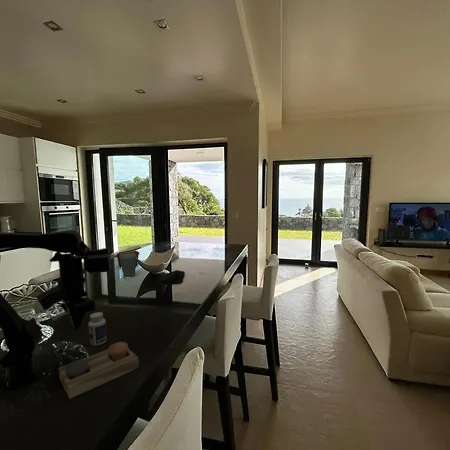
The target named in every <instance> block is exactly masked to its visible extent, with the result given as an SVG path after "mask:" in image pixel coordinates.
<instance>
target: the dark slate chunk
mask: <svg viewBox="0 0 450 450" xmlns="http://www.w3.org/2000/svg"><path fill="white" fill-rule="evenodd" d="M184 279H185V271H184V270H179V269H176V270H173V271H170V272H167V273H166V274H165V275H163V276H162V277H161V278H159V279H158V280H157V281H155V285H158V284H165V285H164V286H173V285H174V284H175V285H182V283H183V281H184Z"/></svg>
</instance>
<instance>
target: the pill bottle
mask: <svg viewBox="0 0 450 450" xmlns="http://www.w3.org/2000/svg"><path fill="white" fill-rule="evenodd" d="M103 314H104V313H103V312H102V311H101V312H98V311H97V312H93V313H91V314H90V315H89V322H88V334H89V335H88V336H89V343H90V346H100V345H103V344H105V343H106V342H107V340H108V336H107V334H108V333H107V323H106V319H105V318H104V315H103Z"/></svg>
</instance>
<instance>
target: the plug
mask: <svg viewBox="0 0 450 450" xmlns="http://www.w3.org/2000/svg"><path fill="white" fill-rule="evenodd" d="M68 364H69V365H68ZM68 364H67V365H68V366H67V367H66V374H67V376H69V377H70V380H71V379H74V378H76V377H78V376H81V375H83V374H86V371H87V370H88V368H89V367H88V361H87V360H81V359H78V360H75V361H72V362H70V363H68Z"/></svg>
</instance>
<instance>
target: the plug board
mask: <svg viewBox="0 0 450 450" xmlns="http://www.w3.org/2000/svg"><path fill="white" fill-rule="evenodd" d="M80 360H87V361H88V367H89V368H88V370H87V371H86V374H83V375H81V376H78V377H76V378H74V379H71V380H70V377H69V376H67V374H66V367H67V366H68V365H69V364H70V363H68V364H65V365H63V366H61V367H58V368H57V370H58V379H59V381H60V383H61V385H62V387H63V389H64V391H65V393H66V395H67V397H68V399H69V400H71V399H73V398H75V397H77V396H79V395H82V394H83V393H84V394H85V393H86V392H88V391H91V390H93V389H94V388H95V389H96V388H98V387H99V386H102V385H104V384H106V383H108V382H111V381H112V380H114V379H117V378H119V377H121V376H124V375H126V374H128V373H130V372H133V371H134V370H137V369H139V368H140V363H139V357H138V355H136V354H135V353H134V352H133V351H132V350H130V348H128V351H127V352H126V357H125V358H122V359H120V360H117V361H115V362H113V361H112V357H111V356H110V355H109V348H107V349H105V350H103V351H100V352H97V353H95V354H93V355H90V356H87V357H85V358H82V359H80Z"/></svg>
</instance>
